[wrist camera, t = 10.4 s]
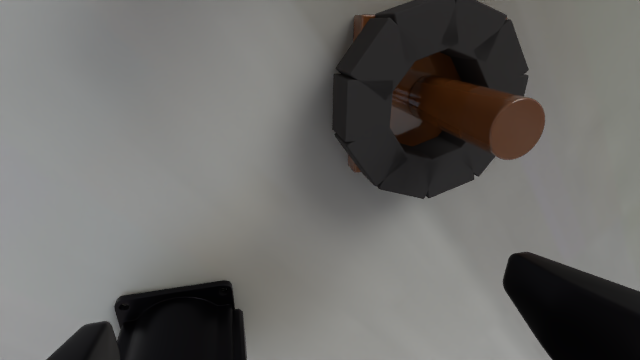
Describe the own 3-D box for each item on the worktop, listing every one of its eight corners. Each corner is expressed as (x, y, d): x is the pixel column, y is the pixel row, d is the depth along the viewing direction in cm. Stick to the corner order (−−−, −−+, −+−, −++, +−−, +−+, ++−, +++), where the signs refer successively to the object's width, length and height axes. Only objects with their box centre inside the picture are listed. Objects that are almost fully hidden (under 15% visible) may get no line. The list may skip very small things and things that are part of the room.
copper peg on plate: (347, 165, 21) (408, 235, 14) (353, 14, 18) (437, 9, 11) (467, 155, 23) (573, 212, 16) (492, 16, 19) (640, 13, 13)
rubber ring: (330, 190, 20) (342, 208, 18) (335, -8, 16) (351, -12, 14) (477, 175, 22) (501, 190, 20) (513, -2, 18) (548, -5, 16)
